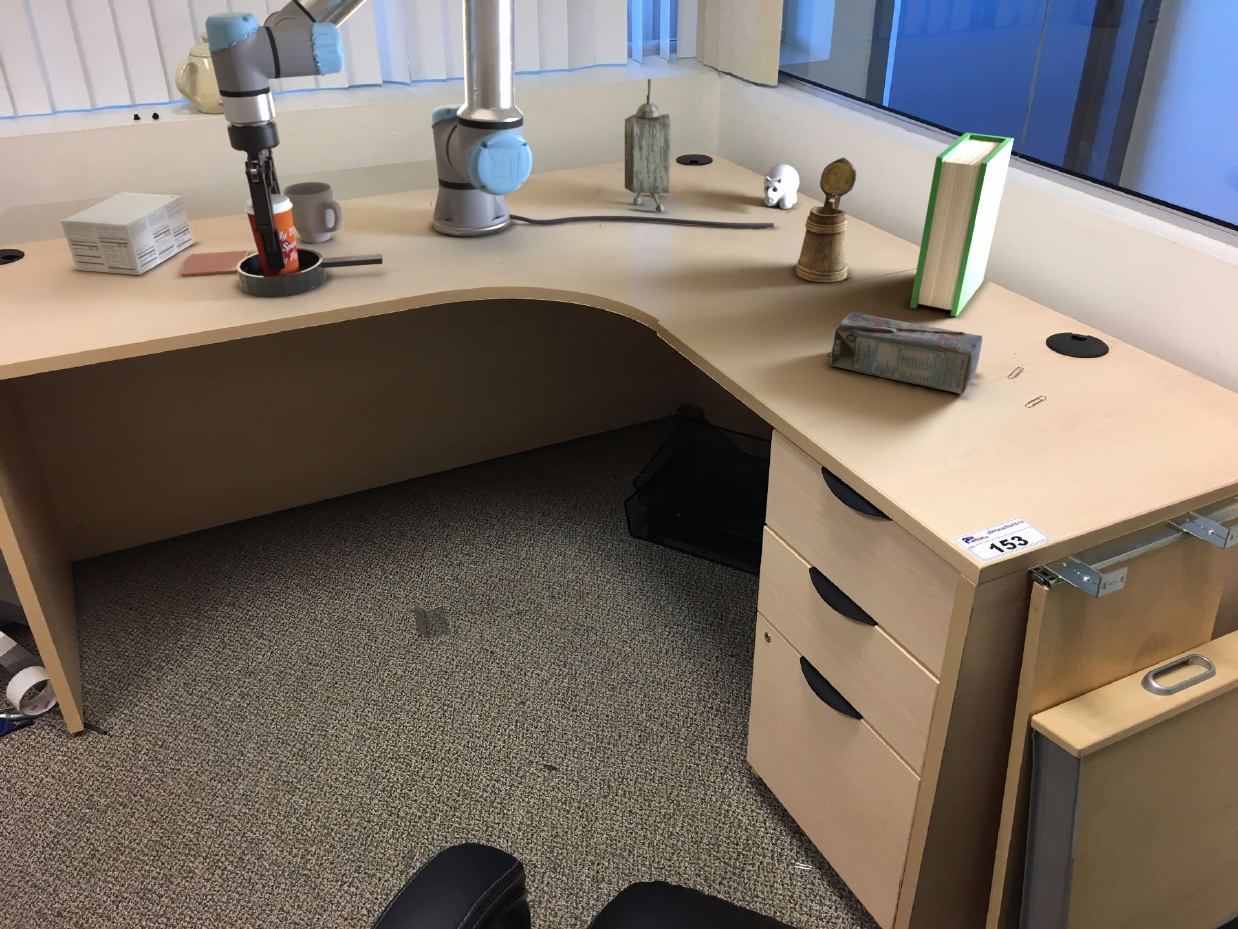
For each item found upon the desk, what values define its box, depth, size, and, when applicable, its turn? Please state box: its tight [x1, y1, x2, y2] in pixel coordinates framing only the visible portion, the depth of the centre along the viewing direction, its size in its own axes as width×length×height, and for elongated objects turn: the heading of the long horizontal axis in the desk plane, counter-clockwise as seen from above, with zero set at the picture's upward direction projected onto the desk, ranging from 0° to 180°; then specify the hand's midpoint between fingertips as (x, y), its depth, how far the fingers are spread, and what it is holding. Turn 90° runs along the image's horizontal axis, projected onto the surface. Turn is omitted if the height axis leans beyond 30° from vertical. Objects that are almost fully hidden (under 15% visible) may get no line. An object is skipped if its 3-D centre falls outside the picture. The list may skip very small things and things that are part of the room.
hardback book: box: [909, 132, 1015, 318], centre depth 151 cm, size 18×7×24 cm, turn 149°
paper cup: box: [243, 193, 299, 276], centre depth 159 cm, size 8×8×14 cm
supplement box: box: [60, 191, 195, 276], centre depth 171 cm, size 17×13×9 cm
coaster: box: [180, 250, 249, 277], centre depth 170 cm, size 10×10×1 cm
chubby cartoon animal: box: [763, 163, 800, 210], centre depth 195 cm, size 7×12×8 cm, turn 152°
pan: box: [236, 247, 327, 298], centre depth 162 cm, size 14×14×4 cm
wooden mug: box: [795, 157, 857, 283], centre depth 163 cm, size 9×14×18 cm, turn 157°
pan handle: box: [323, 253, 384, 269], centre depth 164 cm, size 10×2×1 cm, turn 101°
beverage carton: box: [830, 311, 983, 395], centre depth 132 cm, size 8×19×7 cm, turn 61°
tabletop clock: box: [624, 78, 671, 213], centre depth 193 cm, size 14×9×25 cm, turn 179°
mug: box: [282, 181, 344, 244], centre depth 179 cm, size 12×9×10 cm
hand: (279, 259), depth 161 cm, fingers closed on paper cup, 8 cm apart
